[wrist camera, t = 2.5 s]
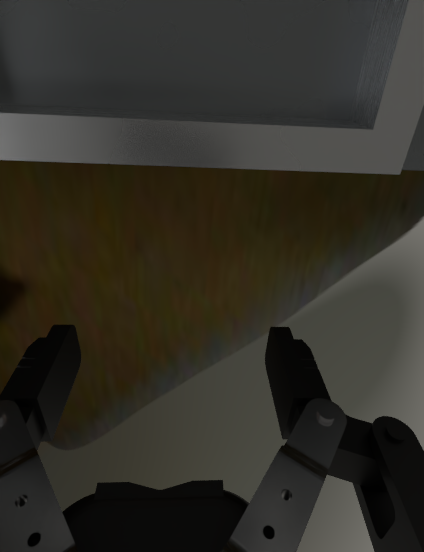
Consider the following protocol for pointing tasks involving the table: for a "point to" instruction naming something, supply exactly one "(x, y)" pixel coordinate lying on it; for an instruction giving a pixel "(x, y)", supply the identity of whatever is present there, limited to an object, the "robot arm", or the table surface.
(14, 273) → the table surface
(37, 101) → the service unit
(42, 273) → the table surface
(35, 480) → the robot arm
